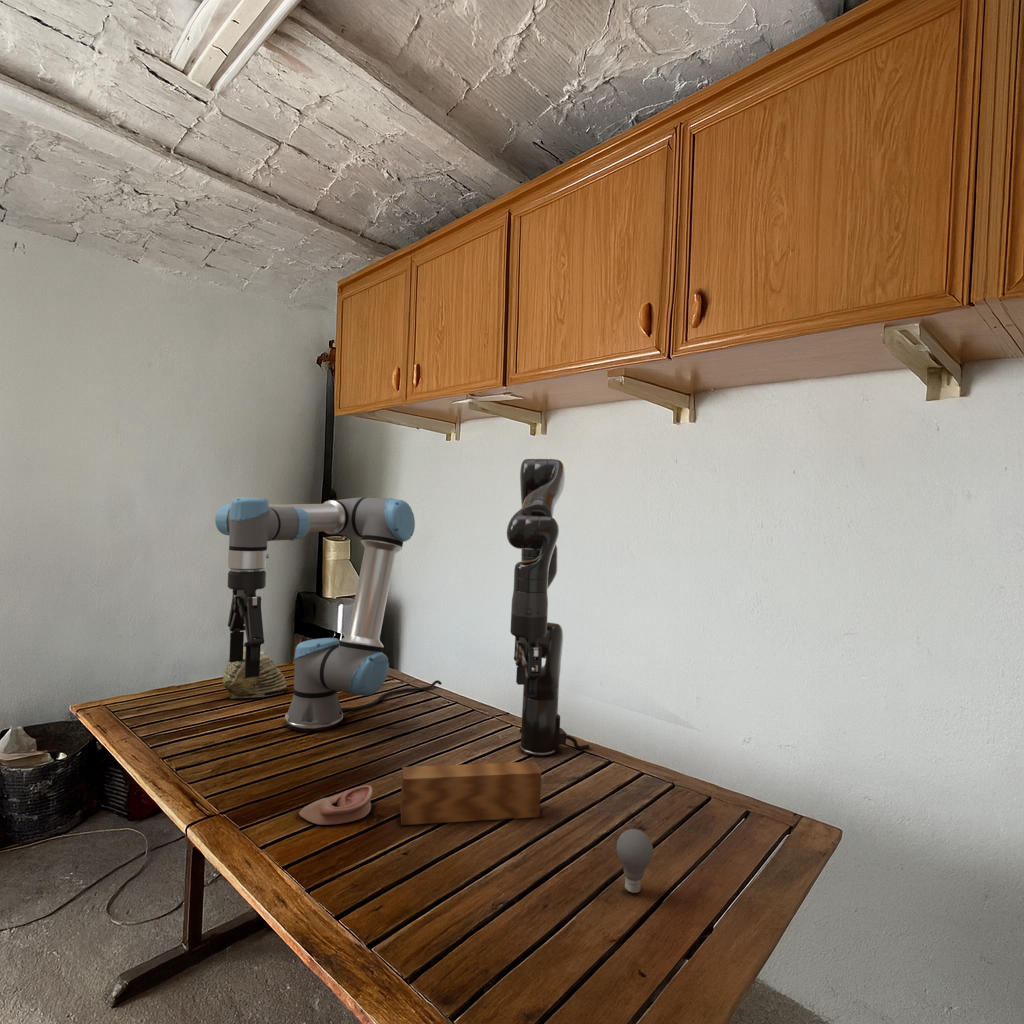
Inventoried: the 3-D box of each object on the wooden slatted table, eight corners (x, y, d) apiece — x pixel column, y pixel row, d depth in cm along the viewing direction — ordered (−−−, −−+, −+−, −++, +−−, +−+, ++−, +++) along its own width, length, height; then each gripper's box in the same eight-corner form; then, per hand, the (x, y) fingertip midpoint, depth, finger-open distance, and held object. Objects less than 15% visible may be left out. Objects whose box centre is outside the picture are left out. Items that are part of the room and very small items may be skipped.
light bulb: (610, 879, 108) (613, 822, 108) (644, 879, 109) (647, 822, 109) (619, 902, 102) (622, 840, 102) (655, 901, 103) (658, 840, 103)
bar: (401, 825, 124) (403, 778, 123) (400, 811, 129) (402, 766, 129) (539, 817, 129) (541, 772, 129) (533, 804, 135) (535, 761, 135)
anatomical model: (291, 800, 123) (320, 775, 134) (290, 820, 123) (320, 794, 134) (354, 810, 120) (379, 784, 132) (353, 830, 121) (378, 803, 132)
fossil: (218, 695, 195) (220, 647, 195) (278, 685, 208) (279, 640, 207) (228, 703, 189) (230, 653, 188) (289, 692, 201) (290, 645, 201)
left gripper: (282, 576, 127) (278, 681, 128) (250, 563, 147) (247, 653, 148) (243, 577, 123) (239, 686, 123) (215, 564, 143) (212, 657, 143)
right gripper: (556, 618, 124) (552, 700, 125) (538, 606, 138) (535, 680, 139) (519, 618, 123) (515, 701, 123) (504, 606, 137) (501, 680, 137)
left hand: (243, 668), depth 136 cm, fingers open, 13 cm apart
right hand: (525, 690), depth 131 cm, fingers open, 8 cm apart
